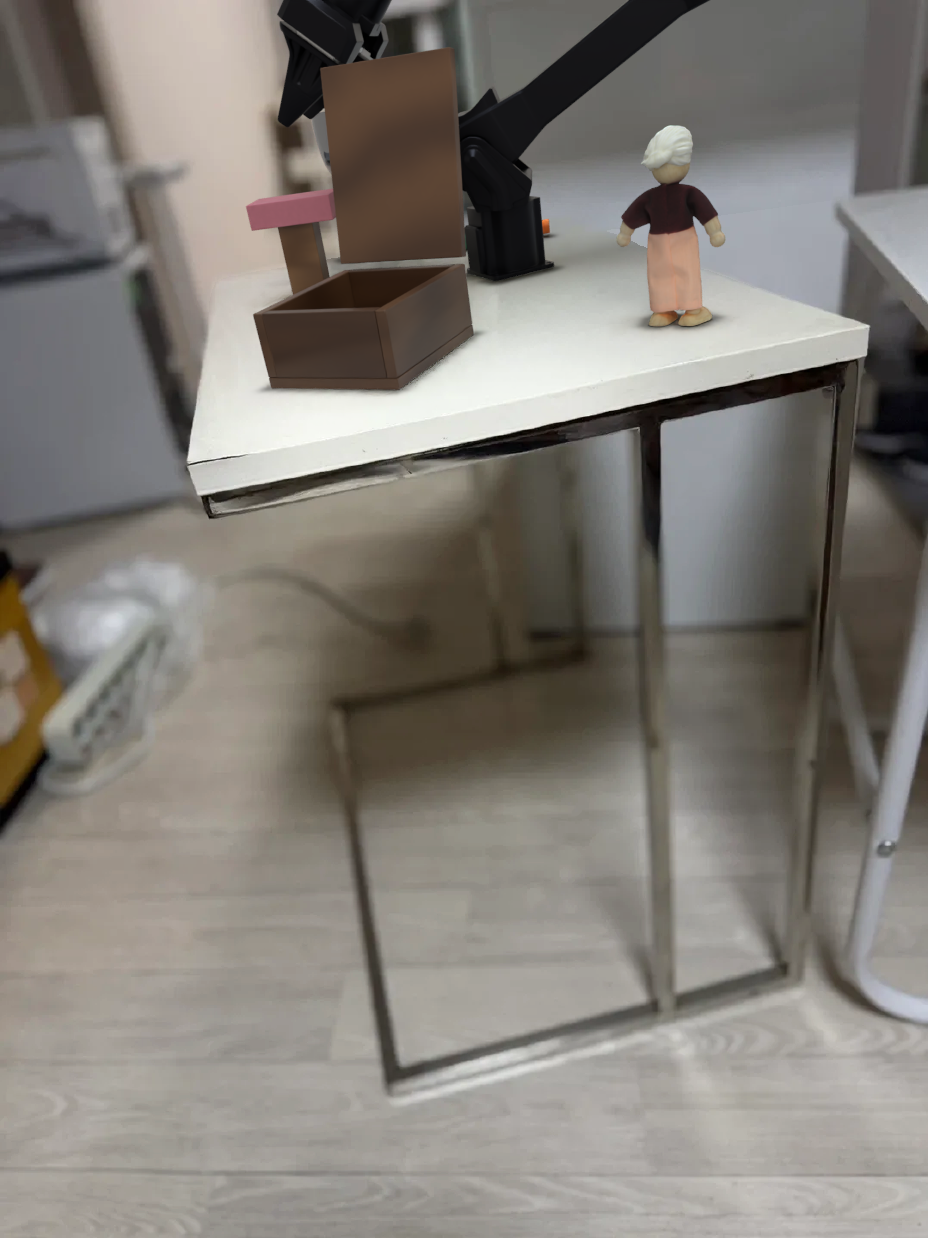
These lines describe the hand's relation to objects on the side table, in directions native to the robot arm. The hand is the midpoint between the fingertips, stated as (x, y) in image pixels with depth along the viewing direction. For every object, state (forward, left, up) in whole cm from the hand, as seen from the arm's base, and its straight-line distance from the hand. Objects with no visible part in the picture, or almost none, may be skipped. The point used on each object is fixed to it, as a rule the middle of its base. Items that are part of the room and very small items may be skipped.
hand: (295, 120), depth 83 cm
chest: (+5, +26, -15) cm, 31 cm away
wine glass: (-11, -16, -16) cm, 25 cm away
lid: (0, +22, -3) cm, 22 cm away
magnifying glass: (-21, -7, -16) cm, 27 cm away
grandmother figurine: (-15, +36, -16) cm, 42 cm away
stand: (+1, -1, -15) cm, 16 cm away
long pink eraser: (+1, -1, -8) cm, 9 cm away
